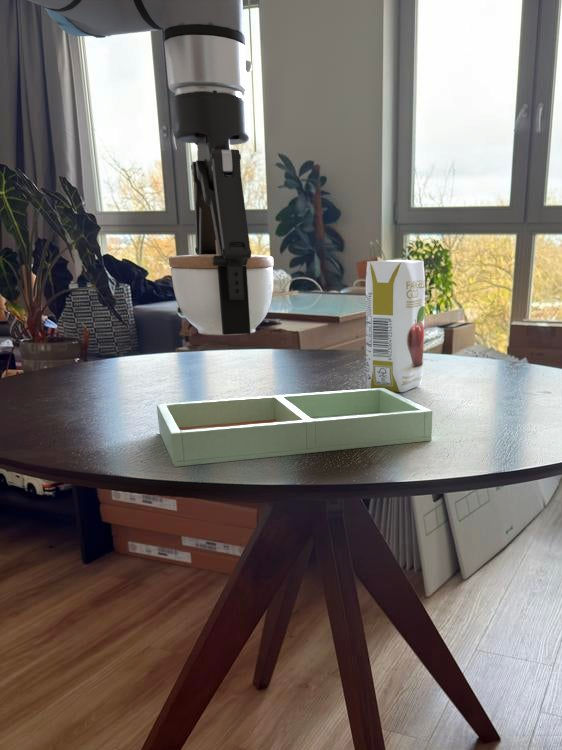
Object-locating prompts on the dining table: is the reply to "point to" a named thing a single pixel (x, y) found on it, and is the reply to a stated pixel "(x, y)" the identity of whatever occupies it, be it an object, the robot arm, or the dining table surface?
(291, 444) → the divided tray
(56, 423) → the dining table surface
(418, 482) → the dining table surface
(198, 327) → the trinket box
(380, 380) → the juice carton
